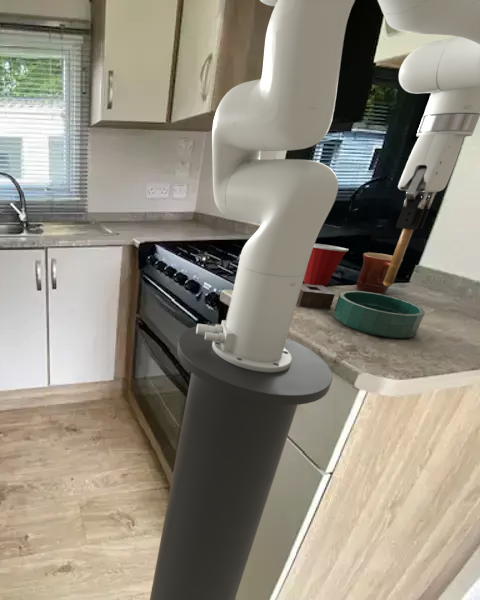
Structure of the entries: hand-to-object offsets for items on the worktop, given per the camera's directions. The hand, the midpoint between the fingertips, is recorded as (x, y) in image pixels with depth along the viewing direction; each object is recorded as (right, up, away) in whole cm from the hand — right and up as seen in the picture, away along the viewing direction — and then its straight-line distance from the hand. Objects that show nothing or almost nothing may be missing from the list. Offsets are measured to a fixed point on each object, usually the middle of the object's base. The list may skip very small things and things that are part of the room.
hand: (408, 227), depth 71 cm
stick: (0, -12, +5) cm, 13 cm away
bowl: (-1, -20, +8) cm, 22 cm away
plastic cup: (+5, -10, +35) cm, 37 cm away
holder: (-7, -15, +20) cm, 26 cm away
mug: (+18, -13, +30) cm, 37 cm away
